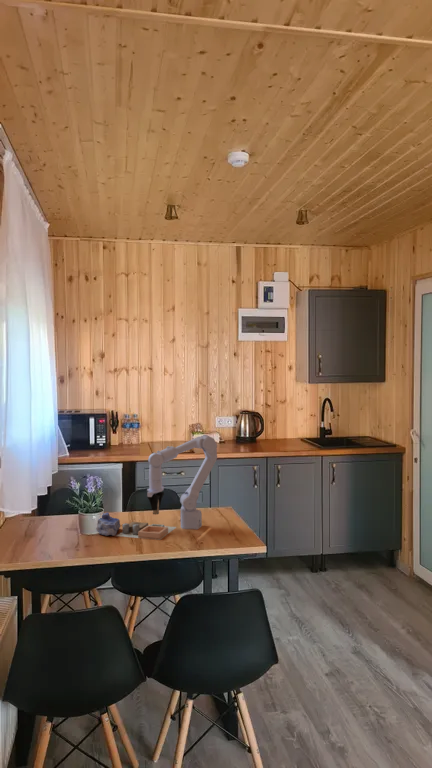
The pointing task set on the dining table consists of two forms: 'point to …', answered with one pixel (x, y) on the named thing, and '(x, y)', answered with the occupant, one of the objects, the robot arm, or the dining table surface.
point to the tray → (153, 532)
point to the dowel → (156, 510)
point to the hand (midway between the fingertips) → (155, 509)
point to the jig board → (137, 528)
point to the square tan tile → (142, 525)
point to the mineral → (108, 525)
